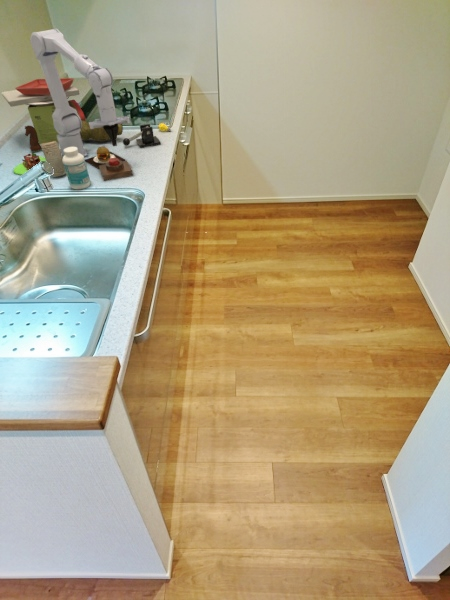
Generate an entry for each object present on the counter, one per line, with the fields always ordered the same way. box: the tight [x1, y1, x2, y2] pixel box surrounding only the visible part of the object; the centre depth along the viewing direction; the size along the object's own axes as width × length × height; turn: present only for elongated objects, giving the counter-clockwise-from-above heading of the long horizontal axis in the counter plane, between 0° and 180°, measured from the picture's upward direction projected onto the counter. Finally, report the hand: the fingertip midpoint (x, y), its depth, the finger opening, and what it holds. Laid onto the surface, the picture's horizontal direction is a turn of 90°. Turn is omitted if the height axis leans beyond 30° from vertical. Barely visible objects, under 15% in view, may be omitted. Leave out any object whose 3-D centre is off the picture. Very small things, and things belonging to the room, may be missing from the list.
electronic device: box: [0, 85, 81, 107], centre depth 173 cm, size 29×20×2 cm
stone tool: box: [80, 120, 124, 142], centre depth 177 cm, size 20×9×10 cm
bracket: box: [135, 123, 162, 149], centre depth 174 cm, size 9×8×7 cm
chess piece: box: [24, 125, 42, 153], centre depth 170 cm, size 5×5×10 cm
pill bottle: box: [62, 147, 92, 190], centre depth 142 cm, size 8×7×14 cm
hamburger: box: [84, 146, 126, 171], centre depth 161 cm, size 12×12×6 cm
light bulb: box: [158, 122, 172, 132], centre depth 186 cm, size 3×6×4 cm
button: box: [109, 158, 119, 166], centre depth 151 cm, size 4×4×2 cm
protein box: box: [27, 104, 60, 145], centre depth 177 cm, size 10×15×16 cm
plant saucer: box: [14, 77, 75, 95], centre depth 169 cm, size 18×18×3 cm
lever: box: [122, 126, 148, 147], centre depth 172 cm, size 13×3×3 cm, turn 113°
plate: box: [24, 97, 70, 106], centre depth 173 cm, size 21×21×2 cm
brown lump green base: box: [13, 152, 46, 176], centre depth 157 cm, size 15×15×6 cm
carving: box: [40, 141, 66, 177], centre depth 150 cm, size 6×8×12 cm
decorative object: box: [68, 99, 86, 121], centre depth 184 cm, size 14×4×15 cm
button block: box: [98, 160, 134, 182], centre depth 152 cm, size 11×10×4 cm
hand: (114, 145), depth 152 cm, fingers closed
